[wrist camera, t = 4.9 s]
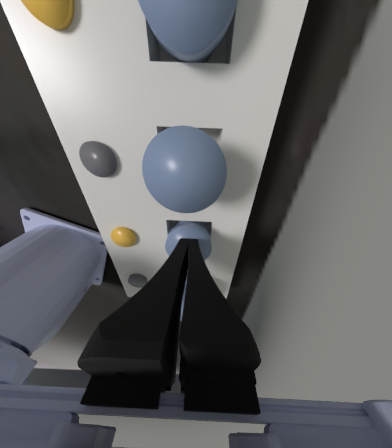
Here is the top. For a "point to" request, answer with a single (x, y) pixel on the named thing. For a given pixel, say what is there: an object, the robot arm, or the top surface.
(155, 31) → the button
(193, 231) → the button
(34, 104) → the top surface
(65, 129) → the console
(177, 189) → the button
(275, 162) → the top surface
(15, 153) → the top surface
